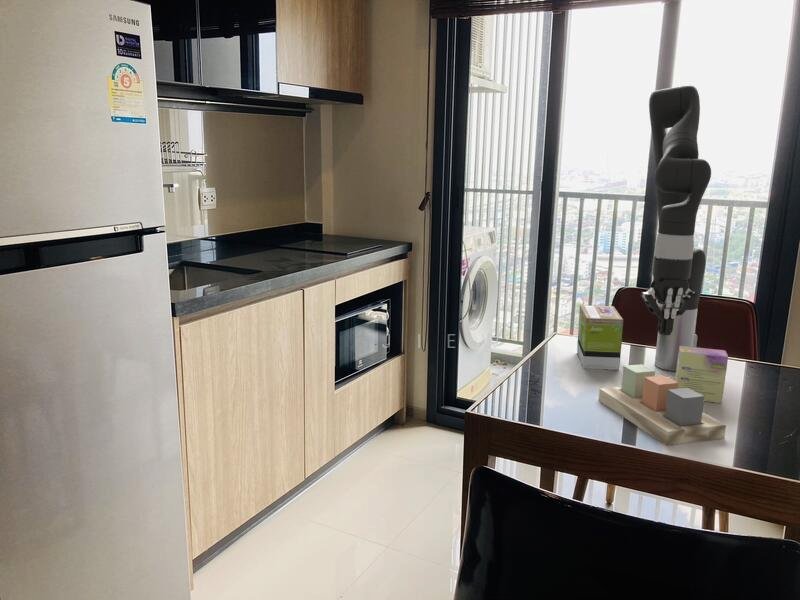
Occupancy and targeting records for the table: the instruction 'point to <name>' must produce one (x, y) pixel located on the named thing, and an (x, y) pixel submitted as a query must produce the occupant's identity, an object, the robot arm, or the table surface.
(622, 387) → the button sage
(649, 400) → the button terracotta
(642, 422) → the light wooden board
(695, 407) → the grey block
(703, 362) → the box
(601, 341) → the tea box
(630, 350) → the table surface
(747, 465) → the table surface
